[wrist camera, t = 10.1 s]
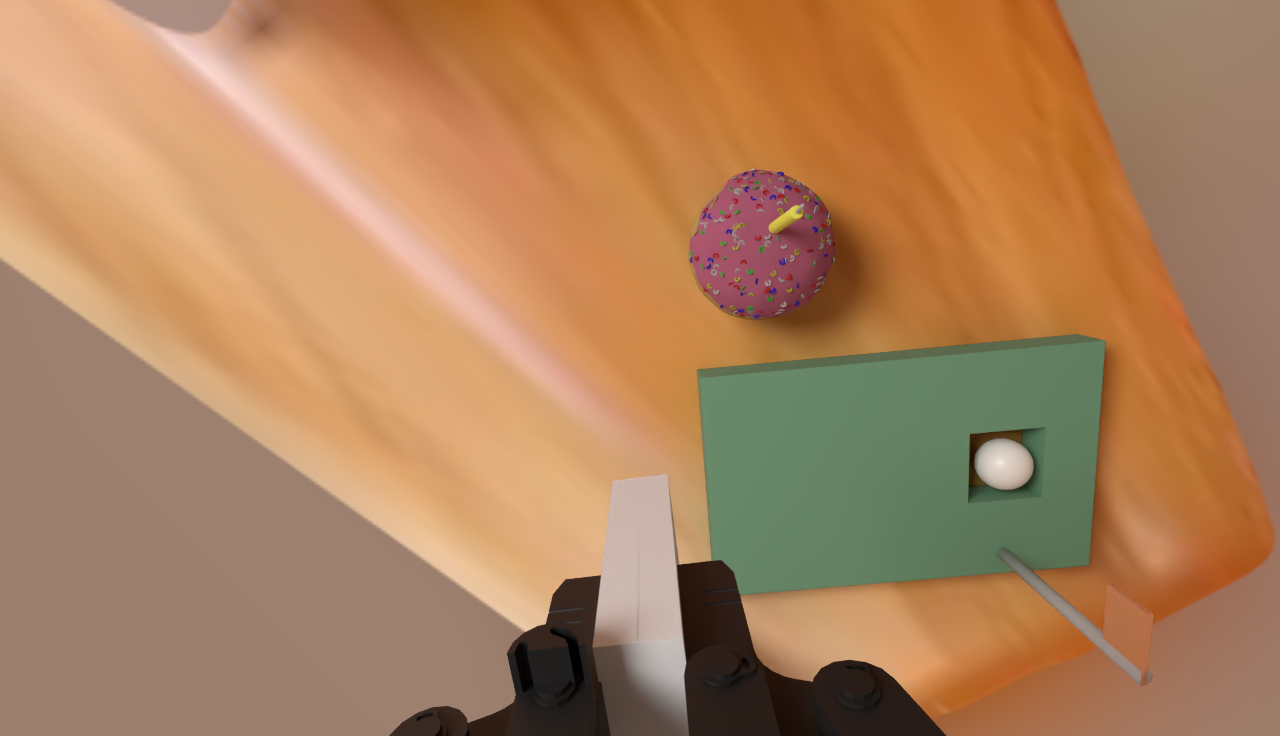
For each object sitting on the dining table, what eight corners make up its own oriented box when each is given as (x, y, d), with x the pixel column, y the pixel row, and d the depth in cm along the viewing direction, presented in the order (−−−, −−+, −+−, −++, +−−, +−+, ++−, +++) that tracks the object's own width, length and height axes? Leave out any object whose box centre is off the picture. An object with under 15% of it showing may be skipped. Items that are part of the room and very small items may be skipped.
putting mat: (697, 369, 41) (726, 439, 27) (1077, 334, 41) (1309, 387, 27) (713, 577, 45) (746, 735, 31) (1064, 547, 44) (1262, 694, 30)
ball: (1018, 454, 38) (1046, 440, 40) (964, 439, 41) (992, 427, 43) (1014, 504, 39) (1042, 488, 41) (962, 486, 42) (989, 472, 44)
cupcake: (695, 169, 39) (718, 141, 27) (824, 188, 39) (904, 169, 27) (674, 301, 40) (688, 328, 29) (798, 319, 41) (862, 353, 29)
